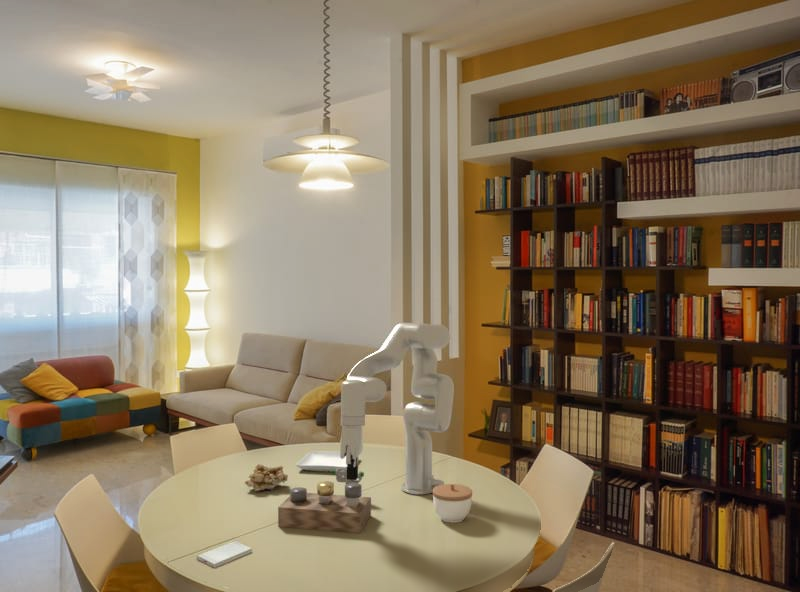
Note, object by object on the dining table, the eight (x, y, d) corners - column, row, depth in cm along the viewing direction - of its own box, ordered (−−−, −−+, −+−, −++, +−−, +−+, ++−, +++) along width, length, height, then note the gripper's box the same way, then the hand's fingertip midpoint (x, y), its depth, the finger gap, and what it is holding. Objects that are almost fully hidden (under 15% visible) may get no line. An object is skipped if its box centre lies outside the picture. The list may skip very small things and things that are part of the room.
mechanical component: (362, 501, 216) (362, 473, 215) (333, 499, 218) (333, 471, 217) (364, 498, 219) (364, 470, 218) (336, 496, 221) (336, 468, 220)
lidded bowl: (445, 529, 193) (445, 493, 192) (425, 515, 204) (425, 481, 203) (480, 521, 198) (480, 487, 198) (458, 508, 210) (458, 475, 209)
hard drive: (234, 540, 182) (196, 554, 172) (252, 548, 177) (214, 563, 167) (234, 546, 182) (196, 560, 172) (252, 554, 177) (214, 569, 167)
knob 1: (309, 512, 203) (308, 487, 202) (303, 518, 198) (303, 493, 197) (293, 511, 204) (293, 486, 203) (287, 517, 199) (287, 492, 198)
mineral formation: (256, 480, 238) (294, 479, 236) (243, 498, 225) (284, 497, 223) (253, 460, 236) (292, 459, 234) (240, 477, 223) (281, 476, 221)
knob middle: (335, 506, 201) (335, 481, 201) (331, 512, 196) (330, 487, 195) (320, 505, 202) (320, 480, 202) (315, 511, 197) (314, 486, 196)
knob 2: (363, 508, 199) (363, 483, 199) (359, 514, 194) (359, 489, 194) (347, 507, 200) (347, 482, 200) (342, 513, 195) (342, 488, 195)
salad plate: (310, 457, 269) (310, 449, 269) (358, 459, 266) (358, 451, 266) (295, 473, 248) (294, 464, 248) (347, 475, 245) (347, 466, 245)
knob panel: (370, 515, 203) (370, 497, 203) (359, 533, 190) (359, 513, 189) (294, 509, 208) (294, 491, 208) (278, 526, 195) (278, 507, 194)
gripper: (347, 414, 204) (347, 471, 204) (334, 424, 189) (333, 485, 190) (370, 416, 203) (369, 472, 203) (358, 426, 188) (357, 487, 188)
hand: (352, 478), depth 196 cm, fingers closed
